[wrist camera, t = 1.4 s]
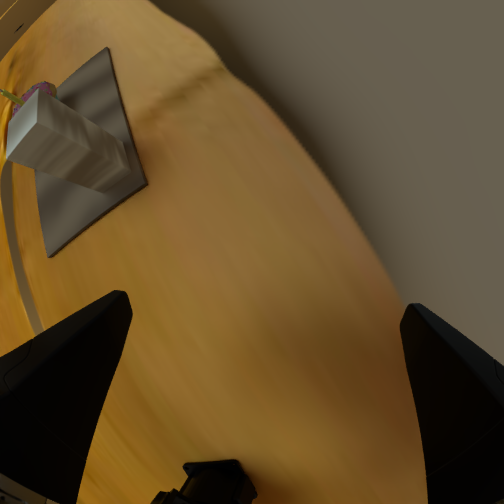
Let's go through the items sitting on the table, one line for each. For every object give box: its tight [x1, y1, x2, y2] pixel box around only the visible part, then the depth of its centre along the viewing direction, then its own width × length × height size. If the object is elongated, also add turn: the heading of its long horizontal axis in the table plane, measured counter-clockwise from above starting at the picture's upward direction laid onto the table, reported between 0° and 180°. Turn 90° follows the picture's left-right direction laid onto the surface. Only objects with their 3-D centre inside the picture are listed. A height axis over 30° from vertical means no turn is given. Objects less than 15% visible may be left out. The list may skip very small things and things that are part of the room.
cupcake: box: [0, 81, 59, 118], centre depth 21 cm, size 9×8×12 cm
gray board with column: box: [6, 47, 148, 258], centre depth 20 cm, size 26×16×13 cm, turn 26°
